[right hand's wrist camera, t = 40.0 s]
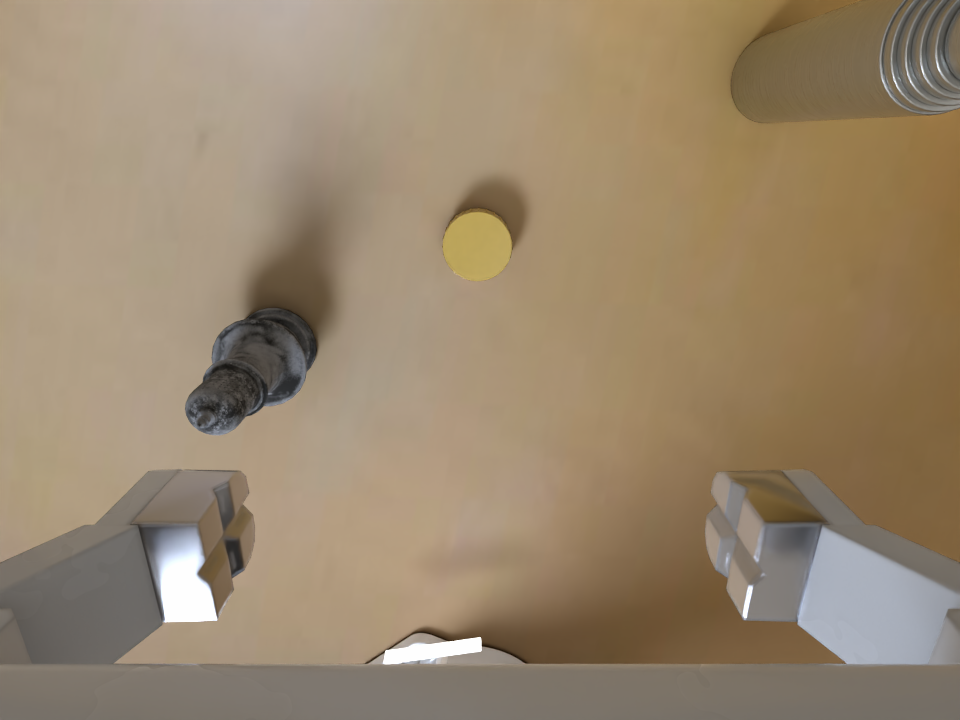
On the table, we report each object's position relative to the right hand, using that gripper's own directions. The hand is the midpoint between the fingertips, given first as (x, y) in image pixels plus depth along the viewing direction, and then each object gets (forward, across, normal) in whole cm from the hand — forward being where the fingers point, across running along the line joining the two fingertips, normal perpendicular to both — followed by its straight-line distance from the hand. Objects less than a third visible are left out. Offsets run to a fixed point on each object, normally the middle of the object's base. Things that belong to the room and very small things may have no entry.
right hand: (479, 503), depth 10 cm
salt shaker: (+29, -14, -7) cm, 33 cm away
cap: (+28, 0, 0) cm, 28 cm away
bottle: (+29, +17, +9) cm, 35 cm away
